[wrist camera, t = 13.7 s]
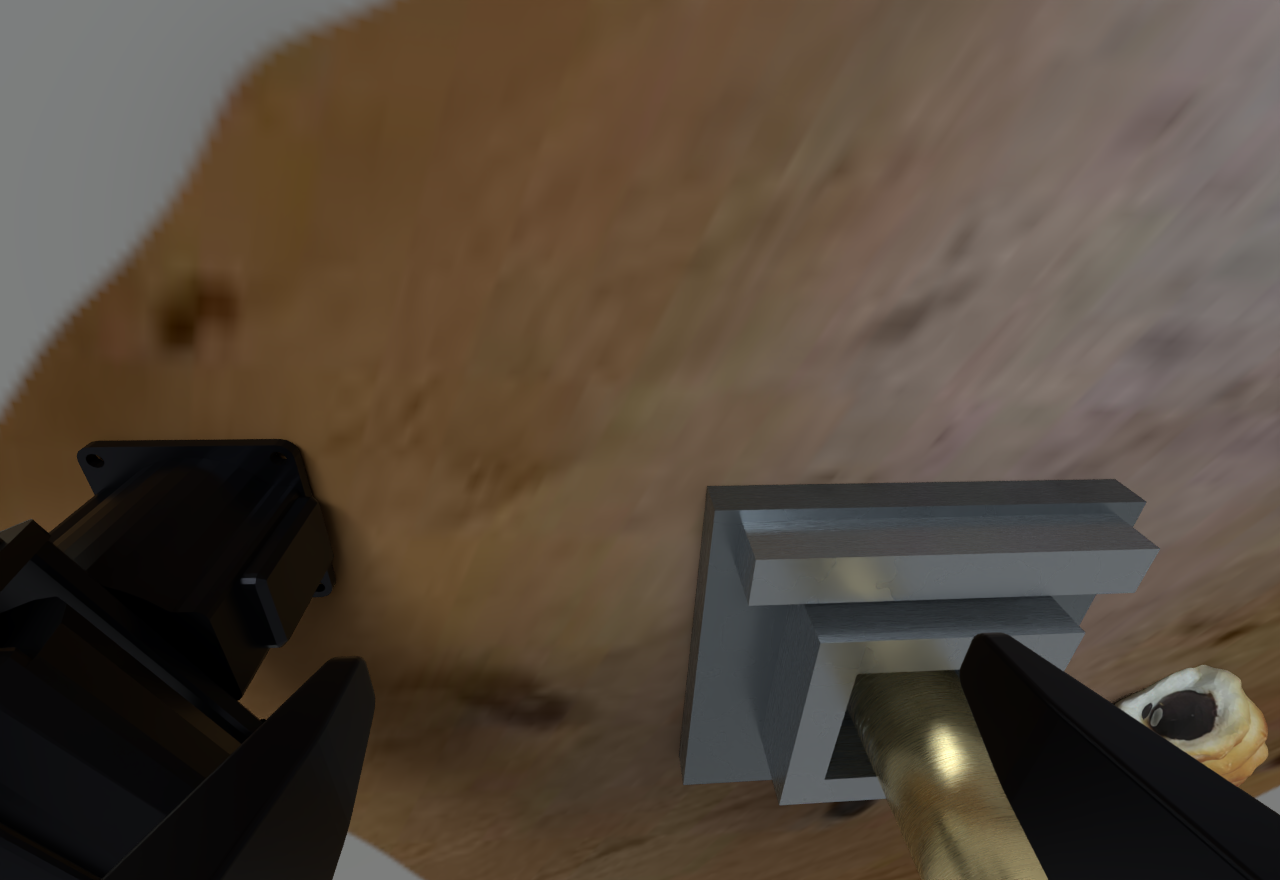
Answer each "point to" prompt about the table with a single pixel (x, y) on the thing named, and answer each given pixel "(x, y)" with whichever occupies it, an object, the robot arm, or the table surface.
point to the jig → (877, 607)
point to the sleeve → (939, 777)
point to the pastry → (1205, 719)
